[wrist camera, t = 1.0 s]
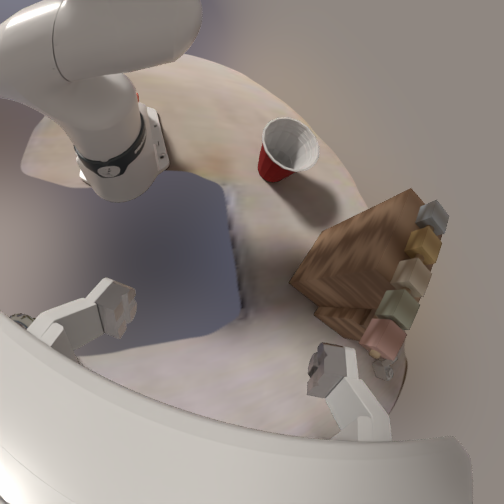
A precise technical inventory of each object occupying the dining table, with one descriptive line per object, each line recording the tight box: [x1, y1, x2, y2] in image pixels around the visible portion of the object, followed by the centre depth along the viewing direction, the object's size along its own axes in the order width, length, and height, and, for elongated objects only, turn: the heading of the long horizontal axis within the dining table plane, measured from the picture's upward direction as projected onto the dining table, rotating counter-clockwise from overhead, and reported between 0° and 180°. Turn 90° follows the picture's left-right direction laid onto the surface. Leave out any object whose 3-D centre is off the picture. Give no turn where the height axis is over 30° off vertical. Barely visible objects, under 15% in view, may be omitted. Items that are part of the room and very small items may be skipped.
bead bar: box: [359, 200, 449, 361], centre depth 26 cm, size 20×3×3 cm, turn 144°
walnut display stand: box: [289, 188, 442, 341], centre depth 41 cm, size 16×17×26 cm
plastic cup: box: [258, 117, 319, 182], centre depth 49 cm, size 11×11×12 cm
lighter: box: [372, 357, 398, 381], centre depth 50 cm, size 7×2×8 cm, turn 25°
